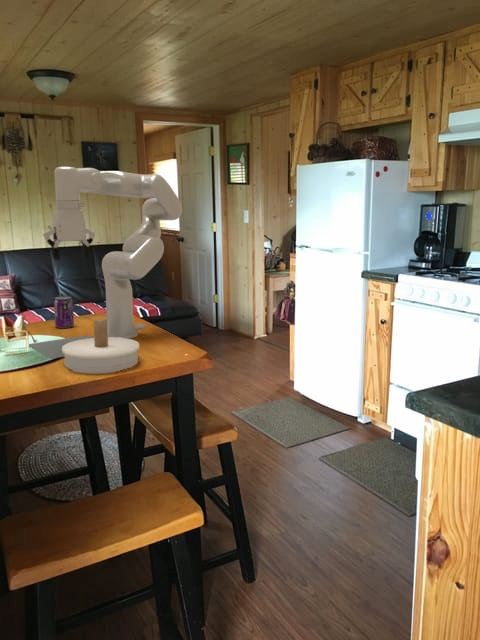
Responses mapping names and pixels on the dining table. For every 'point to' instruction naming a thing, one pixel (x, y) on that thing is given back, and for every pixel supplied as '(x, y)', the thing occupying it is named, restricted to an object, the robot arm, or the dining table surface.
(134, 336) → the robot arm
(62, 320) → the beverage can
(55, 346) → the mat
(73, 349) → the lid
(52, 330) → the dining table surface
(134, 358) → the dish
